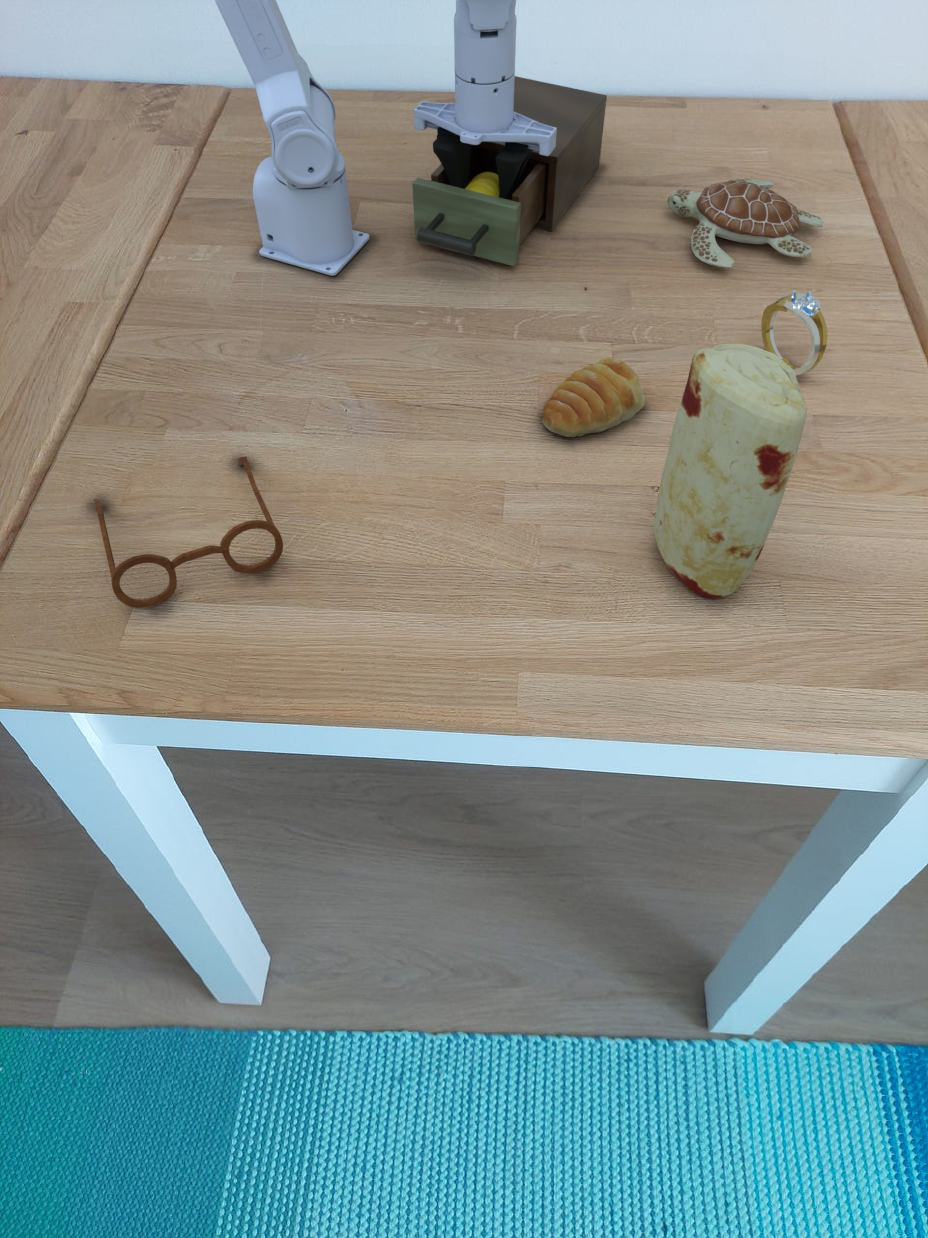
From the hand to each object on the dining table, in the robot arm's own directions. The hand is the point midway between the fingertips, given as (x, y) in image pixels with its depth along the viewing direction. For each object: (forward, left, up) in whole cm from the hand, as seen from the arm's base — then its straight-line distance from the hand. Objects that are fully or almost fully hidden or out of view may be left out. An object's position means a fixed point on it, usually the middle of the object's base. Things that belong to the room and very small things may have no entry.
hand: (483, 206), depth 99 cm
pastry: (+21, -21, -4) cm, 30 cm away
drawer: (0, 0, -3) cm, 3 cm away
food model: (+35, -35, -4) cm, 50 cm away
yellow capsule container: (0, 0, -1) cm, 1 cm away
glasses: (-4, -49, -4) cm, 50 cm away
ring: (+35, -8, -4) cm, 36 cm away
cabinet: (0, +12, -4) cm, 12 cm away
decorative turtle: (+25, +13, -4) cm, 28 cm away
